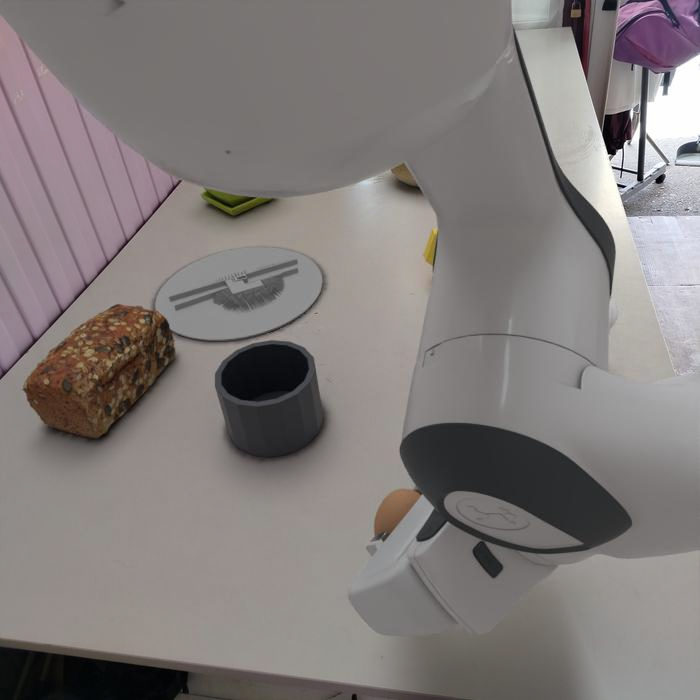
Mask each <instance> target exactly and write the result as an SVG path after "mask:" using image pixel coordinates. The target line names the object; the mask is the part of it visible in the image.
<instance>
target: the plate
mask: <svg viewBox="0 0 700 700" xmlns="http://www.w3.org/2000/svg"><path fill="white" fill-rule="evenodd" d="M323 281H324V280H323V275H322V271H321V269H320V268H319V266H318V265H317V264H316V263H315V262H314V261H313V260H312V259H310V258H309V257H307V256H306V255H304V254H302V253H299V252H296V251H293V250H290V249H286V248H279V247H271V246H270V247H269V246H252V247H251V246H249V247H240V248H233V249H229V250H225V251H220V252H217V253H214V254H211V255H208V256H205V257H203V258H201V259H198V260H196V261H194V262H192V263H190V264H188V265H186V266H185V267H183V268H181V269H180V270H179V271H178V272H176V273H175V274H173V275H172V276H171V277H170V278H169V279H168V280H167V281H166V282H165V283H164V284H163V285H162V287H161V288H160V289H159V291H158V293H157V295H156V299H155V302H154V308H155V309H154V310H156V311H158V312H159V313H161V314H162V315H163V316H164V317H165V318H166V319H167V321H168V323H169V325H170V326H169V328H170V330H171V331H172V333H174V334H176V335H179V336H182V337H184V338H188V339H193V340H197V341H205V342H228V341H238V340H244V339H249V338H254V337H258V336H261V335H264V334H267V333H270V332H274V331H275V330H278V329H280V328H282V327H284V326H286V325H288V324H290V323H292V322H293V321H295V320H297V319H298V318H299V317H301V316H302V315H304V313H306V312H307V311H309V309H310V308H311V307H312V306H313V305H314V304H315V303H316V301H317V300H318V298H319V296H320V294H321V292H322V289H323V285H324V284H323V283H324V282H323Z"/></svg>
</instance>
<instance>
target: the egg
mask: <svg viewBox="0 0 700 700" xmlns="http://www.w3.org/2000/svg"><path fill="white" fill-rule="evenodd" d="M420 497H421V495H420V494H419V493H417V492H416V491H413V489H412V488H411V489H410V488H398V489H394V490H393V491H391V492H389V493H388V494H387V495H386V496H385V497H384V499H382V501H381V503H380V504H379V506H378V508H377V511H376V513H375V516H374V522H373V534H374V536H375V535H376V534H377V533H379V534H380V533H382V532H387V533H388V534H389V535H390V534H391V533H392V531H393V530H394V529H395V528H396V526H397V525H398V524H399V523H400V521H401V520H402V519H403V518H404V517H405V515H406V514H407V513H408V512H409V510H410V509H411V508H412V507H413V505H414V504H415V503H416V502H417V500H418V499H419V498H420Z"/></svg>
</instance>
